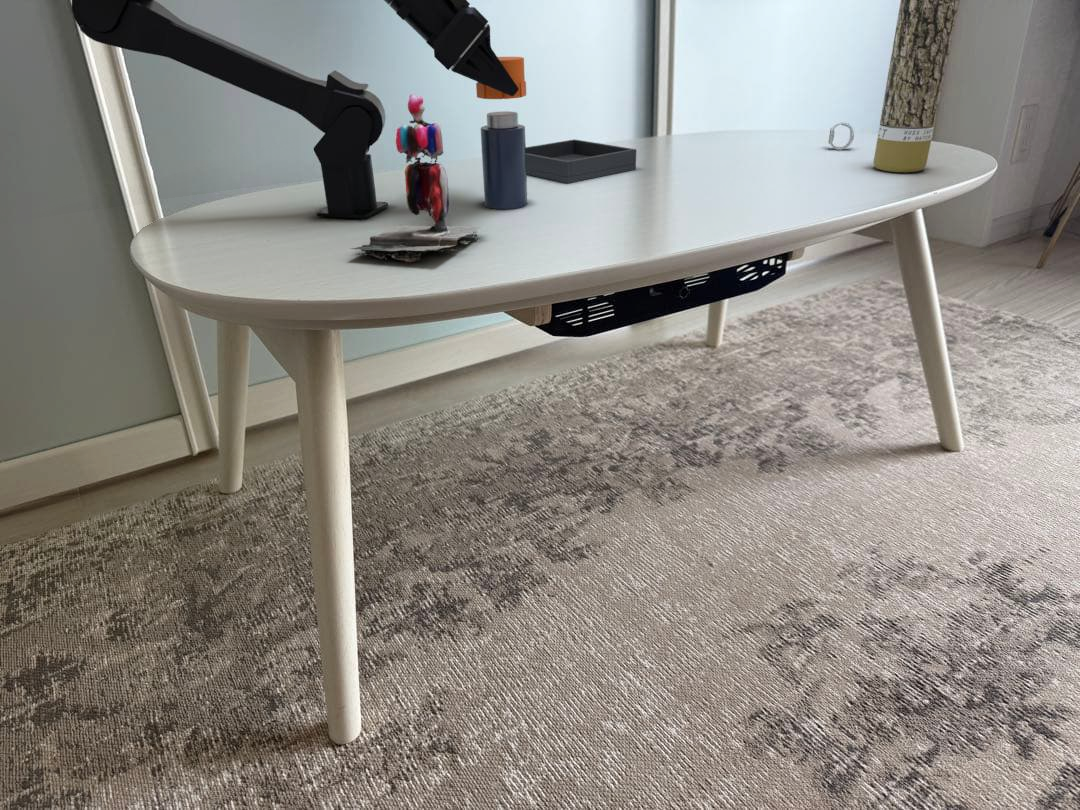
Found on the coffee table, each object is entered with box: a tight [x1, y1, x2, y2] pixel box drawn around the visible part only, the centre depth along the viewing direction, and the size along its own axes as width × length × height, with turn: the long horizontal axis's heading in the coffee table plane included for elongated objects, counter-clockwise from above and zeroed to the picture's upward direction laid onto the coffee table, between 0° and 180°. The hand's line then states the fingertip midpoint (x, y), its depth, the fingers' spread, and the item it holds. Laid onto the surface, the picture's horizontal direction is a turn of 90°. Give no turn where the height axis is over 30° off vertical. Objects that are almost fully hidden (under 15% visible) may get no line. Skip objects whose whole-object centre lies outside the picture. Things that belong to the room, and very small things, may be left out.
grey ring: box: [828, 121, 855, 151], centre depth 122 cm, size 4×2×4 cm, turn 70°
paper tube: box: [873, 0, 960, 174], centre depth 102 cm, size 7×7×25 cm
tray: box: [526, 139, 637, 184], centre depth 113 cm, size 13×13×3 cm
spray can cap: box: [475, 56, 527, 100], centre depth 89 cm, size 5×5×4 cm
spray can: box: [480, 110, 528, 210], centre depth 93 cm, size 5×5×10 cm
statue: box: [350, 94, 481, 263], centre depth 76 cm, size 11×9×15 cm
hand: (513, 90), depth 89 cm, fingers closed on spray can cap, 5 cm apart
